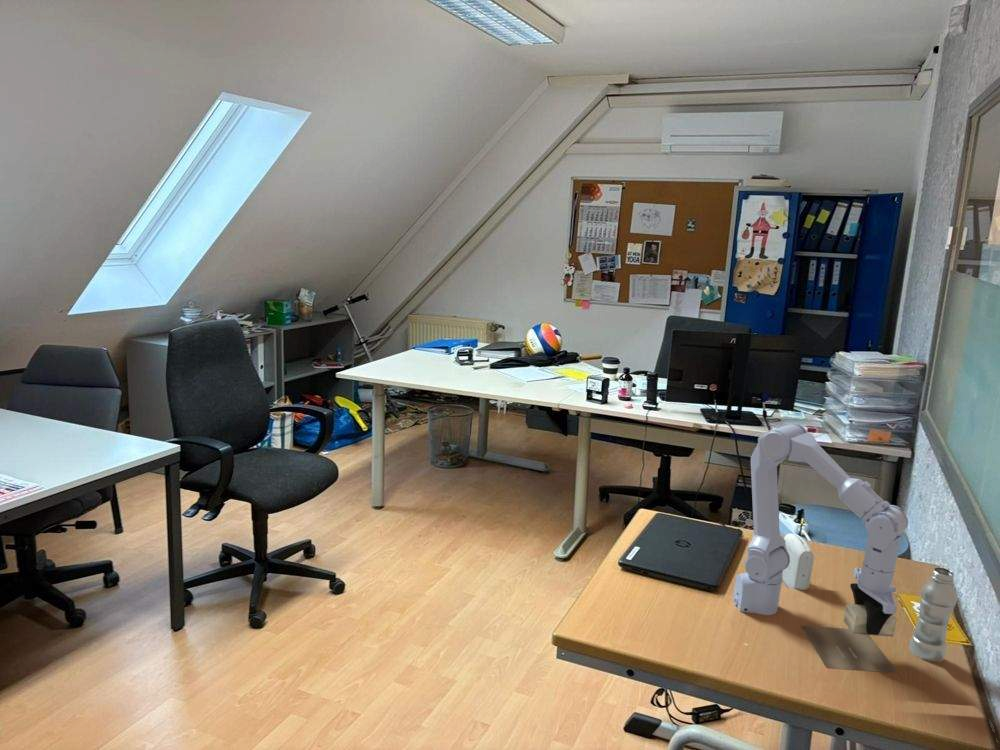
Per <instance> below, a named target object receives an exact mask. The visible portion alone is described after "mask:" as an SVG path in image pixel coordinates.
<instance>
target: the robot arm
mask: <svg viewBox="0 0 1000 750" xmlns="http://www.w3.org/2000/svg"><path fill="white" fill-rule="evenodd" d="M788 457H789V458H788ZM787 458H788V459H787ZM786 459H787V460H788V461H790V462H796V463H797V462H799V463H806V464H808V466H810V467H811V468H812V469H814V470H815V471H816V472H817V473H818V474H819V475H821V476H822V477H823V478H824V479H826V481H828V482H829V483H830V484H831V485H833V486H834V487H835V488H836V489H837V492H838V493H837V494H838V495H837V496H838V499H839V500H840V501H841V502H842V503H843V504H844V505H845V506H846V507H847V508H849V510H851V511H852V512H853V513H854V514H855V515H856V516H857V517H858V518H859V519H860V520H861V521H862V522H863V523H864V524H865V525H864V526H865V530H866V533H867V534H868V535H867V541H866V545H865V550H864V555H863V561H862V566H861V567H855V568H854V570H853V577H854V578H855V579H856V580H857V583H850V586H849V587H850V590H851V592H852V595H853V601H854V604H856V605H865V607H866V612H867V624H866V630H867V633H868V634H871V635H870V636H877V635H878V634H879V633H880V631H881V629H882V627H883V625H884V624H885V622H886V621H887V620H888V618H889V617H890V616H891V615H896V613H897V605H898V604H897V603H896V602H895V599H894V593H897V590H898V589H897V588H896V587H895V585H893V581H894V575H895V569H896V565H897V561H898V556H899V550H900V543H901V539H902V536H901V534H902V533H904V531H906V529H907V528H908V524H909V520H908V517H907V515H906V513H905V512H904V511H903V510H902V508H901V507H899V506H897V505H894V504H891V503H890V502H889V501H887V500H884V499H882V497H881V496H879V495H878V494H877V493H876V491H874V490H873V489H872V488H871V487H872V485H871V483H869V482H868V481H863V479H861V478H854V477H850V475H848V474H847V473H846V471H844V469H843V468H842V467H841V466H839V464H838V463H837V462H836V461H835V460H834V459H833V458H832V457H831V456H830V455H829V454H828V453H827V452H826V450H824V448H822V446H820V444H819V443H818V442H817V439H816V438H815V436H814V435H813V434H812V433H810V432H808V431H807V430H806V428H805V427H804V426H803V425H801V424H799V423H796V422H791V423H787V424H785V425H783V426H781V427H778V428H774V429H770V430H767V431H766V432H764V433H763V434H761V435H760V436H759V437H758V438H757V445H756V446H755V448H754V450H753V452H752V455H751V456H750V473H751V475H750V476H751V495H752V496H751V497H752V500H751V501H752V517H753V519H752V522H753V537H752V538H751V540H750V542H749V544H748V546H747V555H746V558H745V560H744V568H745V571H746V572H745V573H744V572H743V573H737V575H736V576H735V581H734V582H735V583H734V589H733V596H732V598H733V602H734V603H733V604H734V605H735V606H737V607H736V608H738V611H739V612H741V613H751V614H757V615H758V614H759V615H763V616H772V615H775V614H776V613H777V612H778V610H779V602H780V596H781V591H782V583H783V580H782V578H783V577H782V574H783V570H784V569H786V568H787V567H788V566H789V564H790V555H789V553H788V551H787V549H786V545H785V540H784V537H783V536H781V533H780V532H781V531H780V512H779V487H778V465H780V464H781V463H782V462H784V461H785V460H786Z"/></svg>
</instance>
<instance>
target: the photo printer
mask: <svg viewBox="0 0 1000 750" xmlns="http://www.w3.org/2000/svg"><path fill="white" fill-rule="evenodd" d="M783 539H784V540H785V545H786V549H787V551H788V553H789V555H790V564H789V566H788V567H787V568H786V569H784V570H783V574H782V577H783V578H782V583H784V584H785V586H786V587H787V588H788V589H796V590H802V591H804V590H805V591H806V590H809V587H810V582H811V577H812V572H813V565H814V561H815V559H814V558H815V555H814V552H813V550H812V547H811V546H810V545H809V543H808V542H807V541H806V540H805V539H804V538H803V537H802V536H800V535H798V534H796V533H787V534H786V535H785V536H784V537H783Z"/></svg>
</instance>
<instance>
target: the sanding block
mask: <svg viewBox="0 0 1000 750" xmlns="http://www.w3.org/2000/svg"><path fill="white" fill-rule="evenodd" d="M844 612H845V613H844V617H843V618H844V619H843V622H844V623H845V625H846V626H847V627H848V628H847V629H850V630H851V632H852V633H853V634H865V635H870V636H872V635H871V634H868V633H867V630H866V624H867V612H866V607H865V605H856V604H855V603H854V604H853V603H847V604H846V608H845V611H844ZM897 621H898V619H897V617H896V616H895V614H893V615H891V616H890V617H889V618H888V620H887V621H886V622H885V624H884V625H883V627H882V629H881V631H880V633H879V634H878V635H876V636H878V637H892V638H893V637H894V634H895V630H896V624H897Z"/></svg>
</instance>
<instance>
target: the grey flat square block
mask: <svg viewBox="0 0 1000 750" xmlns="http://www.w3.org/2000/svg"><path fill="white" fill-rule="evenodd" d="M800 627H801V629H802V630H803V632H804V634H805V636H806V637H807V639H808V640H809V642H810V644H811V645H812V647H813V649H814V650H815V652H816V654H818V657H819V658H820V660H821V661H822V663H823V665H824V666H825V668H826V669H834V670H848V671H850V670H851V671H860V672H861V671H862V672H875V673H888V674H889V673H892V674H899V672H898V671H897V669H896V668H895V667H894V666H893V664H892V663H891V661H890V660H889V659H888V658H887V656H886V655H885V653H884V652H883V651H882V650H881V648H880V647H879V645H877V643H876V642H875V641H874V639H873V638H872V636H871V635H865V634H853V633H852V632H851V630H850V629H849V628H840V627H828V626H815V625H814V626H813V625H800Z"/></svg>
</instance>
